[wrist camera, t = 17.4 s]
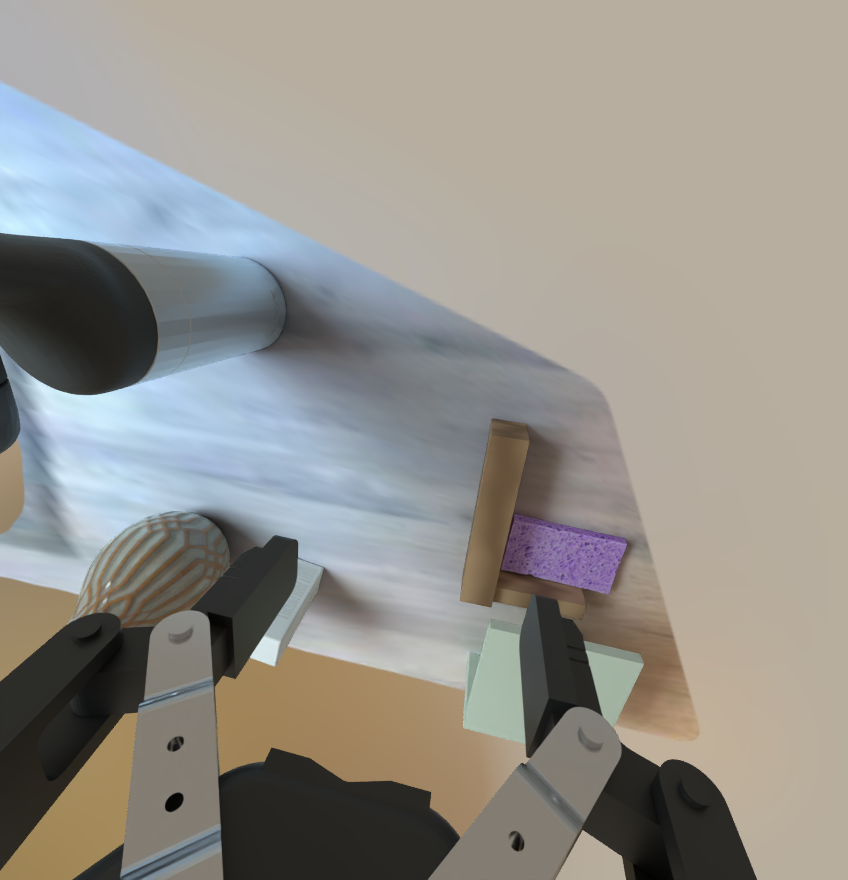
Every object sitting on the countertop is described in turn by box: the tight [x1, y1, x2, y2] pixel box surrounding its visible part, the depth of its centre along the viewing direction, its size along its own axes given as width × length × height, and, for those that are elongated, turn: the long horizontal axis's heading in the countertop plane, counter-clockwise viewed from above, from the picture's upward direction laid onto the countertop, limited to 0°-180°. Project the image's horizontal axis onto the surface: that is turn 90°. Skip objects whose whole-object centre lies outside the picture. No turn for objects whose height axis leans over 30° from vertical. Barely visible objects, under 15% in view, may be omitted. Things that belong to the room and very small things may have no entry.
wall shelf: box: [463, 619, 644, 744], centre depth 47 cm, size 15×16×9 cm
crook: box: [460, 419, 587, 620], centre depth 43 cm, size 14×20×5 cm
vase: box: [64, 511, 230, 628], centre depth 46 cm, size 13×13×18 cm
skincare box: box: [250, 559, 324, 666], centre depth 48 cm, size 6×4×12 cm
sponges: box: [501, 514, 627, 594], centre depth 46 cm, size 7×13×2 cm, turn 81°
